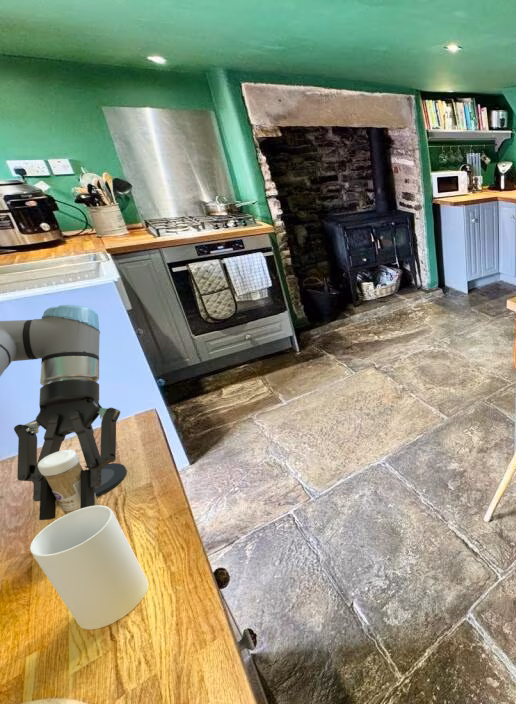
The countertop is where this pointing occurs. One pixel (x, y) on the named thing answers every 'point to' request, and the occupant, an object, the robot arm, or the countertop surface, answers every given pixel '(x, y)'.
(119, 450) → the countertop surface
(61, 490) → the sprinkles bottle
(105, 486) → the mat
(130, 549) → the cup
